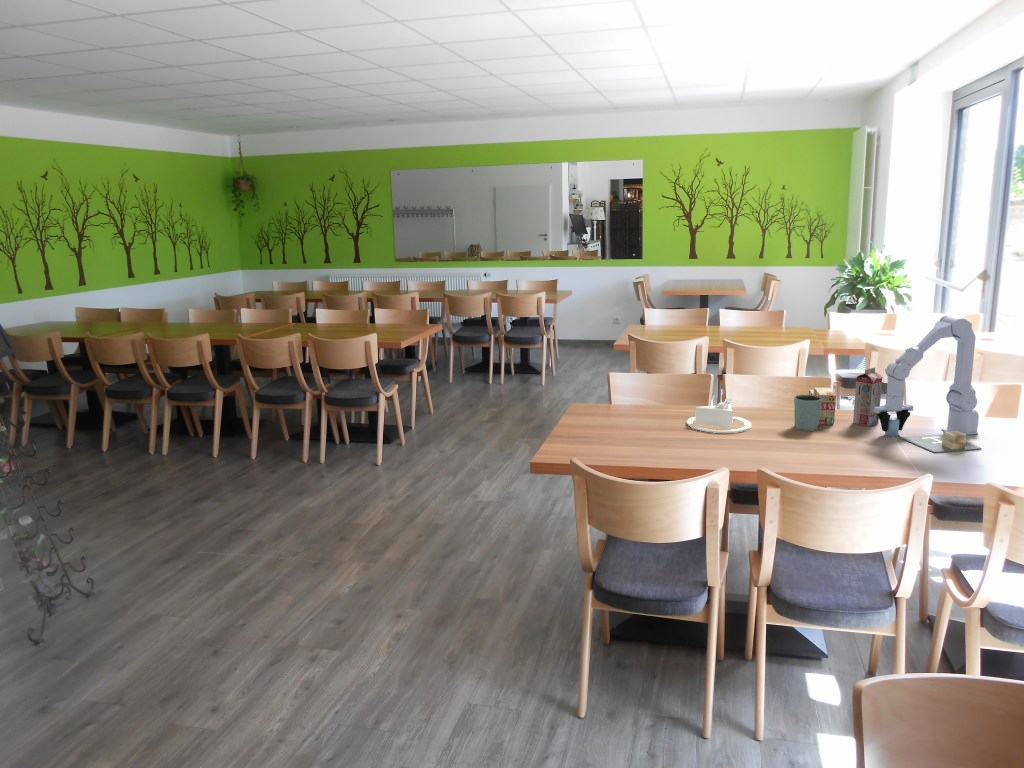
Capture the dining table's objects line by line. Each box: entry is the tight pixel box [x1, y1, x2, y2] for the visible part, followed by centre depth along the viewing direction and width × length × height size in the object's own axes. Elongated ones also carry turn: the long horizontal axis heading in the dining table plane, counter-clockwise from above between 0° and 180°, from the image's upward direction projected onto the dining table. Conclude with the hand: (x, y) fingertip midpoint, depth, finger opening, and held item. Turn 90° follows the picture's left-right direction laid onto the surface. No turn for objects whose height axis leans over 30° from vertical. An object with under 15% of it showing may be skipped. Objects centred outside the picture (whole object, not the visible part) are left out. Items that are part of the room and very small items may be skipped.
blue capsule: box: [884, 417, 900, 437], centre depth 282 cm, size 4×4×6 cm
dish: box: [686, 397, 753, 434], centre depth 299 cm, size 25×25×11 cm
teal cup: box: [793, 394, 822, 431], centre depth 293 cm, size 10×10×12 cm
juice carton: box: [852, 367, 883, 427], centre depth 295 cm, size 7×7×22 cm
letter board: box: [900, 433, 982, 454], centre depth 270 cm, size 18×18×1 cm
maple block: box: [942, 431, 967, 449], centre depth 264 cm, size 5×5×5 cm
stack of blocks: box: [808, 387, 837, 425], centre depth 306 cm, size 21×6×12 cm, turn 169°
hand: (891, 430), depth 282 cm, fingers open, 5 cm apart
